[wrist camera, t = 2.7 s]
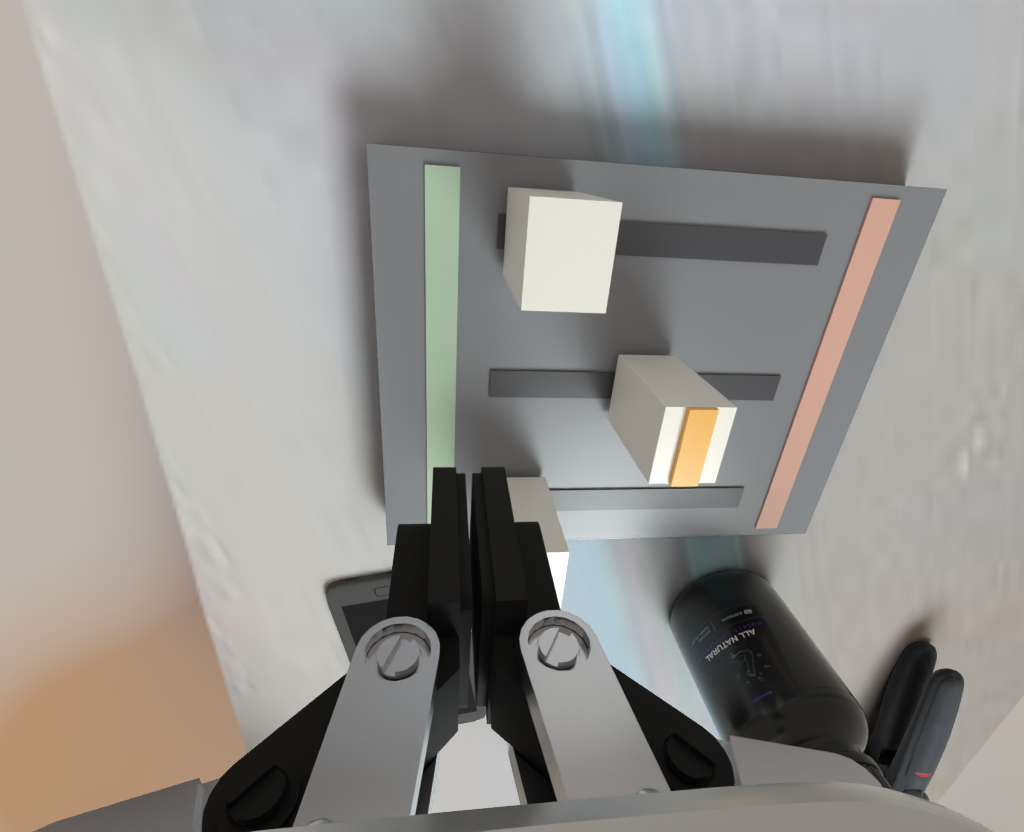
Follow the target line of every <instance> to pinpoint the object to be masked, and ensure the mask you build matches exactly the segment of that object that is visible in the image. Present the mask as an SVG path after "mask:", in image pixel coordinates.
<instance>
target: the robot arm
mask: <svg viewBox="0 0 1024 832" xmlns="http://www.w3.org/2000/svg"><path fill="white" fill-rule="evenodd" d="M471 627H472V646H473V665H474V684H475V702H476V707H483V706H486V717H487V724H491V728H492V729H493V730H494V731H495V732H496V733H497V734H499V735H500V736H501V737H502V738H503V739H504V740H505V741H507V745H508V755H509V759H510V763H511V767H512V771H513V775H514V779H515V784H516V788H517V792H518V796H519V800H520V804H521V805H516V806H505V807H494V808H484V809H473V810H463V811H453V812H442V813H432V814H431V809H432V802H433V796H434V789H435V783H436V776H437V770H438V763H439V751H440V750H441V749H442V748H443V747H444V746H445V745H446V743H447V742H448V741H449V740H450V739H451V738H452V737H453V736H454V735H455V733H456V732H457V731H458V711H459V708H467V707H468V688H469V667H470V647H471ZM34 832H993V831H991V830H989V829H988V828H986V827H985V826H983V825H982V824H980V823H978V822H976V821H974V820H972V819H970V818H968V817H966V816H964V815H962V814H960V813H958V812H956V811H953V810H951V809H949V808H946V807H944V806H942V805H939V804H936V803H933V802H930V801H928V800H925V799H922V798H919V797H916V796H913V795H909V794H906V793H902V792H898V791H894V790H891V789H887V788H883V787H882V785H881V784H880V782H879V781H878V780H877V779H876V778H875V777H874V776H873V775H872V774H871V773H870V772H869V771H868V770H867V769H866V768H864V767H862V766H861V765H859V764H858V763H856V762H855V761H853V760H852V759H850V758H847V757H845V756H842V755H839V754H836V753H831V752H825V751H819V750H813V749H807V748H802V747H796V746H790V745H784V744H778V743H772V742H766V741H760V740H754V739H749V738H743V737H737V736H731V735H729V737H728V739H727V741H724V740H718V739H716V738H715V737H714V736H713V735H712V734H710V733H709V732H708V731H707V730H706V729H704V728H703V727H702V726H700V725H699V724H697V723H696V722H694V721H693V720H692V719H690V718H689V717H687V716H686V715H684V714H683V713H681V712H680V711H678V710H677V709H675V708H674V707H672V706H671V705H669V704H668V703H666V702H665V701H663V700H662V699H660V698H659V697H658V696H656V695H655V694H653V693H652V692H650V691H649V690H647V689H646V688H644V687H643V686H641V685H640V684H638V683H637V682H635V681H634V680H632V679H631V678H629V677H628V676H626V675H625V674H624V673H622V672H621V671H619V670H618V669H616V668H615V667H613V666H612V665H610V663H609V661H608V659H607V657H606V655H605V653H604V651H603V649H602V646H601V644H600V642H599V640H598V638H597V636H596V634H595V633H594V631H593V630H592V628H591V627H590V626H589V625H588V624H587V623H586V622H585V621H584V620H582V619H581V618H580V617H578V616H576V615H574V614H572V613H569V612H565V611H561V610H560V606H559V602H558V598H557V593H556V589H555V585H554V581H553V577H552V573H551V569H550V565H549V561H548V557H547V553H546V549H545V544H544V540H543V536H542V532H541V528H540V525H539V523H538V522H537V521H536V522H514V516H513V511H512V505H511V499H510V494H509V488H508V483H507V477H506V472H505V468H504V467H481V473H472V490H471V514H470V539H469V528H468V510H467V493H466V476H465V473H456V467H433V481H432V505H431V524H398V528H397V535H396V543H395V551H394V559H393V566H392V574H391V582H390V590H389V598H388V606H387V613H386V620H383V621H381V622H379V623H378V624H376V625H374V626H373V627H371V628H370V629H369V630H368V631H367V632H366V633H365V634H364V635H363V636H362V638H361V639H360V641H359V643H358V645H357V647H356V649H355V652H354V655H353V658H352V661H351V663H350V666H349V669H348V672H347V673H346V674H345V675H344V676H343V677H341V678H340V679H339V680H338V681H336V682H335V683H334V684H333V685H332V686H330V687H329V688H328V689H327V690H325V691H324V692H323V693H322V694H320V695H319V696H318V697H317V698H315V699H314V700H313V701H312V702H310V703H309V704H308V705H307V706H306V707H304V708H303V709H302V710H301V711H299V712H298V713H297V714H296V715H294V716H293V717H292V718H291V719H289V720H288V721H287V722H286V723H284V724H283V725H282V726H281V727H280V728H278V729H277V730H276V731H275V732H273V733H272V734H271V735H270V736H268V737H267V738H266V739H265V740H263V741H262V742H261V743H260V744H258V745H257V746H256V747H255V748H254V749H252V750H251V751H250V752H249V753H247V754H246V755H245V756H244V757H243V758H241V759H240V760H239V761H238V762H236V763H235V764H234V765H233V766H232V767H231V768H230V769H229V770H228V771H227V772H226V773H225V774H224V775H223V776H222V777H221V778H220V779H216V780H214V781H210V782H207V783H204V784H201V782H200V779H199V778H198V779H195V780H191V781H188V782H184V783H181V784H178V785H175V786H171V787H168V788H165V789H161V790H158V791H155V792H152V793H148V794H145V795H142V796H139V797H135V798H132V799H129V800H125V801H122V802H119V803H115V804H112V805H109V806H106V807H102V808H99V809H96V810H92V811H89V812H86V813H83V814H79V815H76V816H73V817H69V818H67V819H63V820H60V821H56V822H54V823H52V824H49V825H47V826H45V827H43V828H40V829H38V830H36V831H34Z"/></svg>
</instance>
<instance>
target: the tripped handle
mask: <svg viewBox="0 0 1024 832" xmlns="http://www.w3.org/2000/svg"><path fill="white" fill-rule="evenodd" d="M736 410H737V407H736V406H735V405H734V404H733V403H731V402H730V401H729V400H728V399H727V398H725V397H724V396H723V395H722V394H721V393H719V392H718V391H717V390H716V389H715V388H714V387H712V386H711V385H710V384H709V383H708V382H706V381H705V380H704V379H703V378H702V377H700V376H699V375H698V374H697V373H696V372H695V371H693V370H692V369H691V368H690V367H689V366H687V365H686V364H685V363H684V362H683V361H681V360H680V359H679V358H678V357H677V356H663V355H622V354H619V356H618V361H617V367H616V373H615V379H614V385H613V391H612V397H611V402H610V408H609V414H608V420H609V422H610V424H611V425H612V427H613V428H614V430H615V432H616V433H617V435H618V436H619V438H620V439H621V441H622V443H623V444H624V446H625V447H626V449H627V450H628V452H629V454H630V455H631V457H632V458H633V460H634V462H635V463H636V465H637V466H638V468H639V469H640V471H641V473H642V474H643V476H644V477H645V479H646V480H647V482H648V484H669V485H670V486H671V487H691V486H698V484H699V483H715V481H716V478H717V475H718V471H719V468H720V465H721V461H722V458H723V454H724V451H725V448H726V444H727V441H728V437H729V434H730V431H731V427H732V424H733V421H734V417H735V414H736Z"/></svg>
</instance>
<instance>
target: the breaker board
mask: <svg viewBox="0 0 1024 832" xmlns="http://www.w3.org/2000/svg"><path fill="white" fill-rule="evenodd" d="M366 149H367V168H368V187H369V206H370V225H371V243H372V262H373V281H374V300H375V319H376V338H377V357H378V375H379V394H380V413H381V432H382V451H383V470H384V489H385V507H386V526H387V545H395V543H396V535H397V528H398V524H431V505H432V481H433V467H456V473H465V476H466V493H467V510H468V528H469V539H470V514H471V490H472V473H481V467H504V468H505V472H506V477H545V478H546V481H547V484H548V487H549V491H550V494H551V497H552V500H553V503H554V506H555V509H556V512H557V515H558V519H559V522H560V525H561V528H562V531H563V534H564V537H565V540H590V539H626V538H661V537H697V536H733V535H769V534H805V533H806V530H807V528H808V526H809V523H810V521H811V518H812V516H813V513H814V511H815V509H816V506H817V504H818V501H819V499H820V496H821V494H822V492H823V489H824V487H825V484H826V482H827V479H828V477H829V475H830V472H831V470H832V467H833V465H834V462H835V460H836V458H837V455H838V453H839V450H840V448H841V445H842V443H843V441H844V438H845V436H846V433H847V431H848V428H849V426H850V424H851V421H852V419H853V416H854V414H855V411H856V409H857V407H858V404H859V402H860V399H861V397H862V395H863V392H864V390H865V387H866V385H867V382H868V380H869V378H870V375H871V373H872V370H873V368H874V365H875V363H876V361H877V358H878V356H879V353H880V351H881V348H882V346H883V344H884V341H885V339H886V336H887V334H888V331H889V329H890V327H891V324H892V322H893V319H894V317H895V314H896V312H897V310H898V307H899V305H900V302H901V300H902V297H903V295H904V293H905V290H906V288H907V285H908V283H909V281H910V278H911V276H912V273H913V271H914V268H915V266H916V264H917V261H918V259H919V256H920V254H921V251H922V249H923V247H924V244H925V242H926V239H927V237H928V234H929V232H930V230H931V227H932V225H933V222H934V220H935V217H936V215H937V213H938V210H939V208H940V205H941V203H942V200H943V198H944V196H945V193H946V191H947V189H939V188H926V187H913V186H901V185H888V184H875V183H863V182H850V181H837V180H825V179H812V178H799V177H787V176H774V175H761V174H749V173H736V172H723V171H711V170H698V169H685V168H673V167H660V166H647V165H635V164H622V163H609V162H597V161H584V160H571V159H559V158H546V157H533V156H521V155H508V154H495V153H483V152H470V151H457V150H445V149H432V148H419V147H407V146H394V145H381V144H369V143H366ZM508 187H516V188H531V189H545V190H559V191H573V192H581V193H585V194H589V195H594V196H598V197H602V198H606V199H610V200H615V201H619V202H623V203H622V210H621V217H620V223H619V230H618V236H617V243H616V249H615V256H614V262H613V269H612V275H611V282H610V288H609V295H608V302H607V308H606V313H578V312H551V311H523V310H521V309H520V307H519V305H518V303H517V301H516V300H515V298H514V296H513V294H512V292H511V290H510V288H509V286H508V284H507V282H506V280H505V278H504V276H503V263H504V246H505V229H506V212H507V195H508ZM619 354H622V355H663V356H677V357H678V358H679V359H680V360H681V361H683V362H684V363H685V364H686V365H687V366H689V367H690V368H691V369H692V370H693V371H695V372H696V373H697V374H698V375H699V376H700V377H702V378H703V379H704V380H705V381H706V382H708V383H709V384H710V385H711V386H712V387H714V388H715V389H716V390H717V391H718V392H719V393H721V394H722V395H723V396H724V397H725V398H727V399H728V400H729V401H730V402H731V403H733V404H734V405H735V406H736V407H737V410H736V414H735V417H734V421H733V424H732V427H731V431H730V434H729V437H728V441H727V444H726V448H725V451H724V454H723V458H722V461H721V465H720V468H719V471H718V475H717V478H716V481H715V483H699V484H698V486H691V487H671V486H670V485H669V484H648V482H647V480H646V479H645V477H644V476H643V474H642V473H641V471H640V469H639V468H638V466H637V465H636V463H635V462H634V460H633V458H632V457H631V455H630V454H629V452H628V450H627V449H626V447H625V446H624V444H623V443H622V441H621V439H620V438H619V436H618V435H617V433H616V432H615V430H614V428H613V427H612V425H611V424H610V422H609V420H608V414H609V408H610V402H611V397H612V391H613V385H614V379H615V373H616V367H617V361H618V356H619Z"/></svg>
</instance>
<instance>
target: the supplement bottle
mask: <svg viewBox="0 0 1024 832" xmlns="http://www.w3.org/2000/svg"><path fill="white" fill-rule="evenodd" d="M670 623H671V629H672V632H673V635H674V637H675V640H676V642H677V644H678V647H679V649H680V651H681V653H682V655H683V657H684V660H685V662H686V664H687V666H688V668H689V670H690V673H691V675H692V677H693V679H694V681H695V683H696V686H697V688H698V690H699V692H700V694H701V696H702V699H703V701H704V703H705V705H706V707H707V710H708V712H709V714H710V716H711V718H712V720H713V723H714V725H715V727H716V729H717V731H718V733H719V736H720V738H721V740H724V741H727V739H728V737H729V735H731V736H737V737H743V738H749V739H754V740H760V741H766V742H772V743H778V744H784V745H790V746H796V747H802V748H807V749H813V750H819V751H825V752H831V753H836V754H839V755H842V756H845V757H847V758H850V759H852V760H853V761H855V762H856V763H858V764H859V765H861V766H862V767H864V768H866V769H867V770H868V771H869V772H870V773H871V774H872V775H873V776H874V777H875V778H876V779H877V780H878V781H879V782H880V784H881V785H882V787H883V788H887V789H891V790H893V789H892V788H891V786H890V785H889V783H888V782H887V780H886V779H885V778H884V776H883V773H882V770H881V769H880V767H879V766H878V765H877V763H876V762H875V761H874V759H873V758H872V757H871V756H869V755H867V754H865V753H863V752H864V750H865V748H866V745H867V741H868V724H867V719H866V716H865V713H864V711H863V709H862V708H861V706H860V705H859V703H858V702H857V700H856V699H855V697H854V696H853V695H852V693H851V692H850V691H849V689H848V688H847V687H846V685H845V684H844V682H843V681H842V680H841V678H840V677H839V676H838V674H837V673H836V672H835V670H834V669H833V668H832V666H831V665H830V664H829V662H828V661H827V659H826V658H825V657H824V655H823V654H822V653H821V651H820V650H819V649H818V647H817V646H816V645H815V643H814V642H813V641H812V639H811V638H810V637H809V635H808V634H807V632H806V631H805V630H804V628H803V627H802V626H801V624H800V623H799V622H798V620H797V619H796V618H795V616H794V615H793V614H792V612H791V611H790V609H789V608H788V607H787V605H786V604H785V603H784V601H783V600H782V599H781V597H780V596H779V595H778V594H777V592H776V591H775V590H774V588H773V587H772V586H771V585H770V584H769V583H768V582H767V581H766V580H765V579H763V578H762V577H760V576H758V575H756V574H754V573H750V572H746V571H737V570H733V571H723V572H718V573H715V574H712V575H709V576H707V577H704V578H702V579H700V580H698V581H697V582H695V583H694V584H692V585H691V586H690V587H688V588H687V589H686V590H685V591H684V592H683V593H682V594H681V595H680V597H679V598H678V599H677V601H676V603H675V605H674V607H673V609H672V613H671V619H670Z"/></svg>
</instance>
